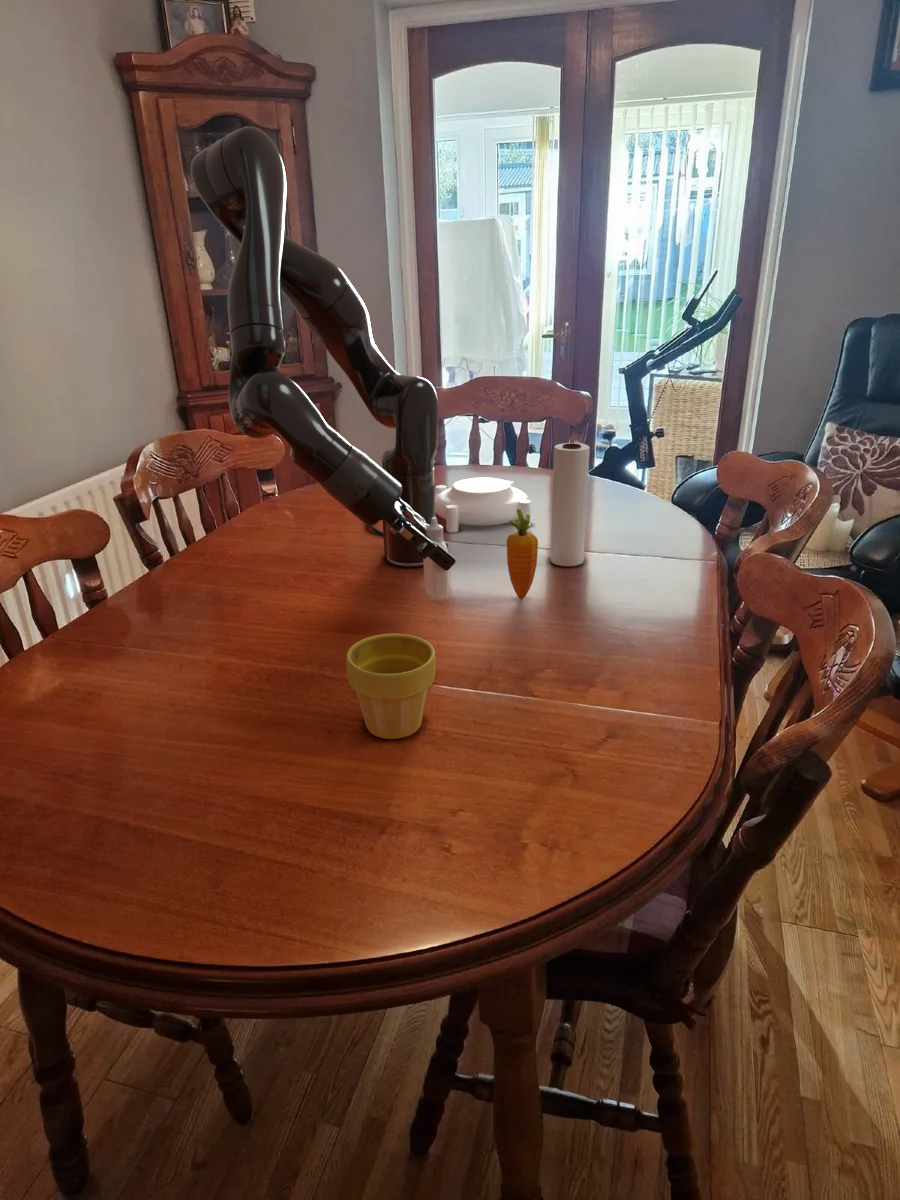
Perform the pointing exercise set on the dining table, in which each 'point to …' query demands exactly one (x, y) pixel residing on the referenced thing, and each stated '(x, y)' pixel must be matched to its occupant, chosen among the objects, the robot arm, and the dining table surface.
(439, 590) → the eye dropper bottle
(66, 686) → the dining table surface
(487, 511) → the round stand with pegs
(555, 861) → the dining table surface
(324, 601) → the dining table surface
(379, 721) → the flower pot
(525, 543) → the carrot
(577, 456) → the paper towel roll
